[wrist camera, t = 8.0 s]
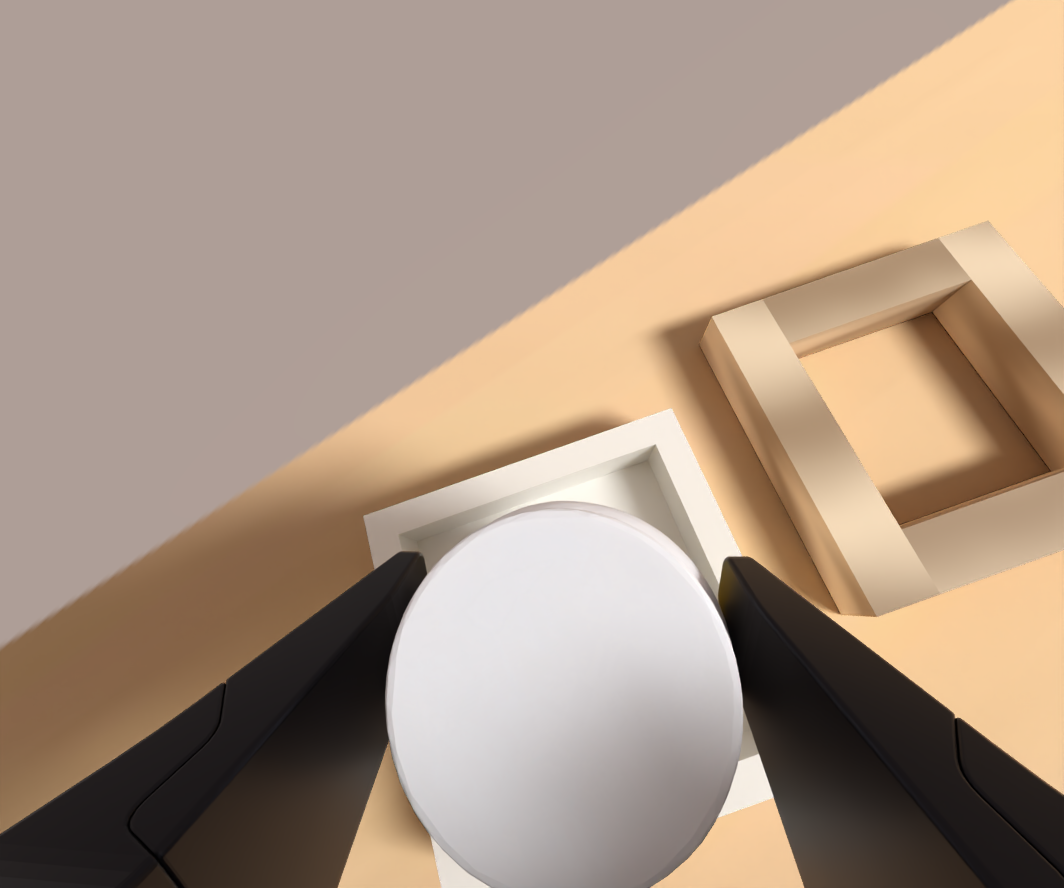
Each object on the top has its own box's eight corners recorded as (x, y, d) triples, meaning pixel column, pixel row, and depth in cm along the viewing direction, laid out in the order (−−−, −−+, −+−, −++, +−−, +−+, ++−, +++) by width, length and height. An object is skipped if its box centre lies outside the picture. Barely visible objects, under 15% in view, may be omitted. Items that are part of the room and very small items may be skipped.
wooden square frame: (1146, 505, 16) (1223, 492, 14) (841, 614, 16) (876, 616, 14) (948, 257, 20) (988, 220, 18) (698, 344, 19) (711, 316, 17)
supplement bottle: (522, 521, 16) (435, 399, 6) (686, 575, 15) (864, 525, 5) (462, 692, 14) (236, 856, 5) (640, 767, 13) (776, 1155, 4)
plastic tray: (802, 744, 15) (844, 771, 12) (468, 865, 15) (447, 915, 12) (659, 432, 18) (671, 407, 16) (391, 527, 18) (363, 515, 16)
